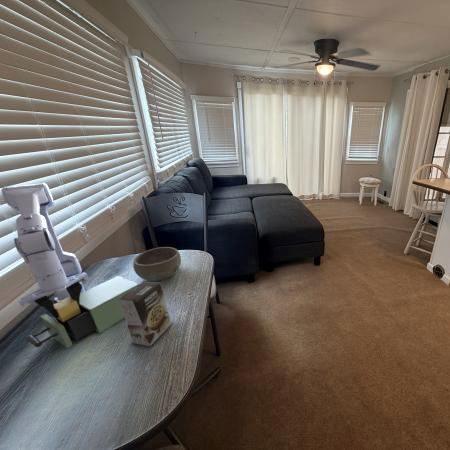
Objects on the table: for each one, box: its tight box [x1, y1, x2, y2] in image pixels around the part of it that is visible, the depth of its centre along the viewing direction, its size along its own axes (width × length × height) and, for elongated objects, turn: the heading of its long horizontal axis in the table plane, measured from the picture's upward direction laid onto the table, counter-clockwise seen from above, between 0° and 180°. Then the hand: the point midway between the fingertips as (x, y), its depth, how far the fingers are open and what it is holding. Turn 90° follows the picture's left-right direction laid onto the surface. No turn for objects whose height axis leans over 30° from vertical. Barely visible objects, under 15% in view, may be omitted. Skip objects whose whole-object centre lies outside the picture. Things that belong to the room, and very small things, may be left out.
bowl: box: [132, 246, 182, 282], centre depth 104 cm, size 17×18×10 cm
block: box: [53, 297, 81, 322], centre depth 72 cm, size 4×4×4 cm
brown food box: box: [119, 280, 172, 347], centre depth 72 cm, size 9×6×16 cm
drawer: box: [26, 306, 97, 349], centre depth 73 cm, size 18×11×7 cm, turn 154°
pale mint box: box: [80, 275, 140, 333], centre depth 82 cm, size 15×13×9 cm
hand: (66, 311), depth 72 cm, fingers closed on block, 4 cm apart
